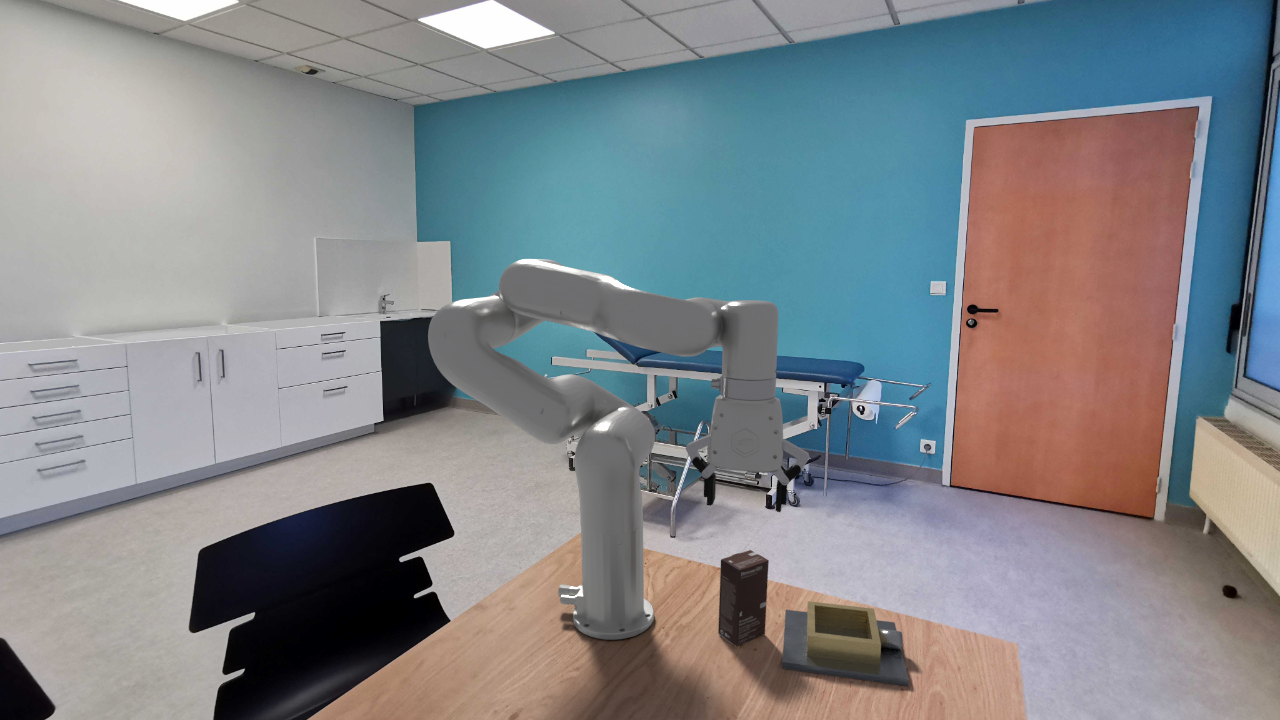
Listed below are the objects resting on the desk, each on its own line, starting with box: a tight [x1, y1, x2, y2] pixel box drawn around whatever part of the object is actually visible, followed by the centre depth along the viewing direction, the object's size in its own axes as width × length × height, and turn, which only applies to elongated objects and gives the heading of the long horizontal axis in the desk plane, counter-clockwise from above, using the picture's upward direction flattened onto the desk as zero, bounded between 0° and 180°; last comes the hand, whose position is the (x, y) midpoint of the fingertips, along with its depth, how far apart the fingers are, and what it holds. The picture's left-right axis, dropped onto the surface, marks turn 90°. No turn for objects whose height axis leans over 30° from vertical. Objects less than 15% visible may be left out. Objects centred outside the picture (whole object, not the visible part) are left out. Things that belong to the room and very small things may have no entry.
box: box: [717, 549, 770, 647], centre depth 96 cm, size 6×4×12 cm
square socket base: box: [781, 600, 909, 687], centre depth 93 cm, size 16×14×4 cm
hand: (744, 505), depth 94 cm, fingers open, 9 cm apart
